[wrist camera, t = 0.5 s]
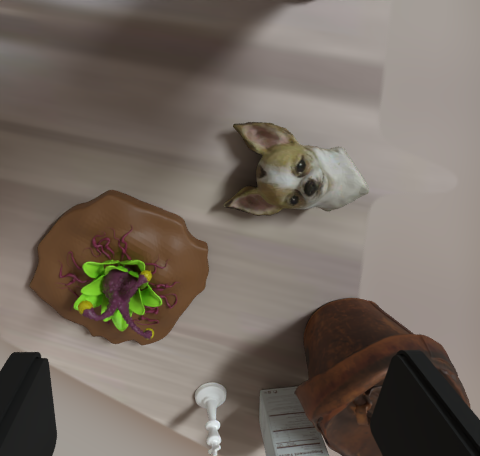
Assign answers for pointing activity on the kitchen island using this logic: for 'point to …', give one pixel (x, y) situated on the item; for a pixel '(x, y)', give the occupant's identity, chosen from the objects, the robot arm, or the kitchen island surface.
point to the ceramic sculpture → (295, 174)
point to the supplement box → (287, 425)
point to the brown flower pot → (356, 370)
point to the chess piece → (211, 411)
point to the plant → (121, 268)
